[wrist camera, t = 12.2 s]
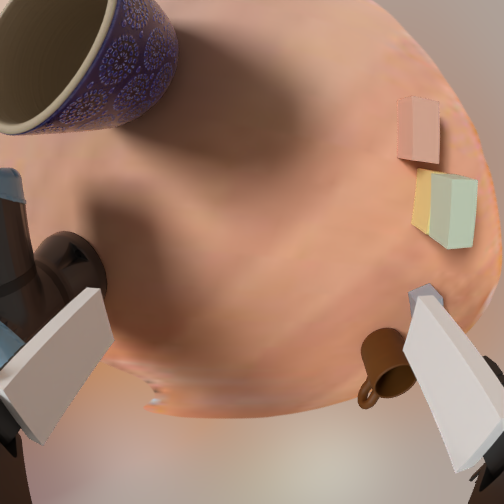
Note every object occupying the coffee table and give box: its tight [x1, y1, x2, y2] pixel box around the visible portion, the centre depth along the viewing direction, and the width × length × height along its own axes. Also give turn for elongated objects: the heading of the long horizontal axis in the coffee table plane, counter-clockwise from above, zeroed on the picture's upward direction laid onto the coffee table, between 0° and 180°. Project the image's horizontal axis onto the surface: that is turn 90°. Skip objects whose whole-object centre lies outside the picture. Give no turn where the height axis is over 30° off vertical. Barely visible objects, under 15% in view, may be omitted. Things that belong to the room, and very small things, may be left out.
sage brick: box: [429, 173, 478, 249], centre depth 29 cm, size 8×4×5 cm, turn 6°
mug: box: [358, 328, 417, 409], centre depth 41 cm, size 12×8×9 cm, turn 154°
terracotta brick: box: [397, 96, 440, 164], centre depth 31 cm, size 8×4×5 cm, turn 1°
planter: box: [0, 0, 179, 135], centre depth 23 cm, size 18×18×21 cm
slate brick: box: [408, 283, 443, 317], centre depth 40 cm, size 8×4×5 cm, turn 22°
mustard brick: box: [411, 168, 448, 234], centre depth 34 cm, size 8×4×5 cm, turn 179°
